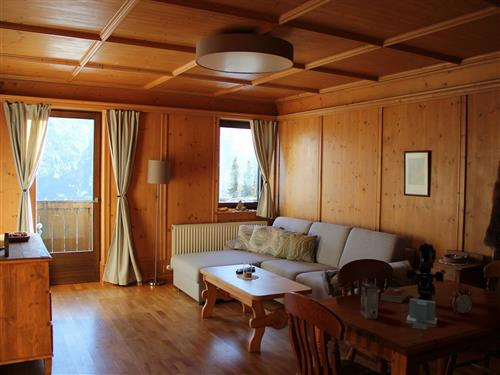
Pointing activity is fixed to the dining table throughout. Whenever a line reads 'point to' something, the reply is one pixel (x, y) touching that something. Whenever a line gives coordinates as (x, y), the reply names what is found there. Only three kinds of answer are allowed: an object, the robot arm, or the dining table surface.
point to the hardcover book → (394, 295)
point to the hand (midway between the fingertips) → (423, 288)
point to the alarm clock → (461, 300)
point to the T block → (422, 310)
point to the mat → (421, 325)
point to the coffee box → (369, 300)
